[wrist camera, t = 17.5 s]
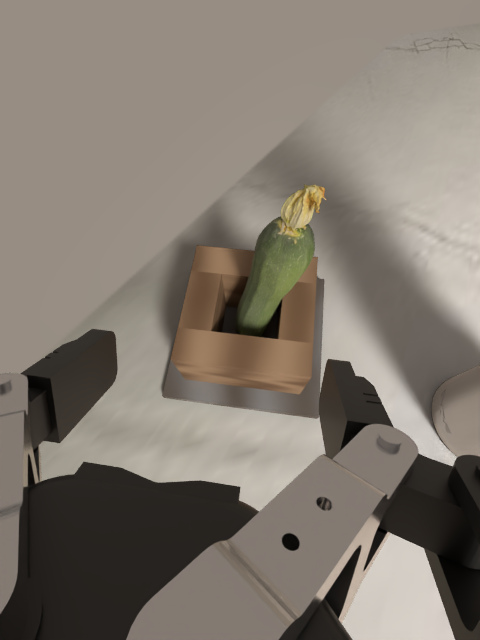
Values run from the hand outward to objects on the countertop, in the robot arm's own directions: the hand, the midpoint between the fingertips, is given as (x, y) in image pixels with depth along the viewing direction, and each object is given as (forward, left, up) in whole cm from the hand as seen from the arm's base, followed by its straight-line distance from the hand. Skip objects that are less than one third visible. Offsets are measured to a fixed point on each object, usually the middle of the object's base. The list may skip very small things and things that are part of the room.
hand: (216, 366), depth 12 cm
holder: (0, -10, -23) cm, 25 cm away
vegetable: (0, -10, -22) cm, 24 cm away
